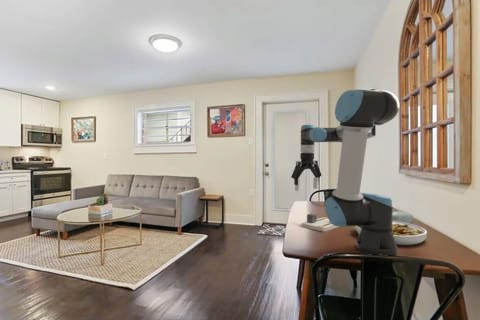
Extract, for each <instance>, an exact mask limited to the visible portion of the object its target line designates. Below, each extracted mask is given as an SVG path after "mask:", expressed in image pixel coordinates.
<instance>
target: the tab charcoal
mask: <svg viewBox="0 0 480 320" xmlns="http://www.w3.org/2000/svg"><path fill="white" fill-rule="evenodd" d="M317 216H318V215H317V214H315V213H309V214H306V222H312V223H313V222H317V219H318V218H317Z"/></svg>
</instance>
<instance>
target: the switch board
mask: <svg viewBox="0 0 480 320" xmlns="http://www.w3.org/2000/svg"><path fill="white" fill-rule="evenodd" d="M301 227H302V228H306V229H310V230H313V231H318V232H322V233H325V232H329V231H331V230H334V229H337V228H340V227H341V226H334V225H333V224H332V223H331V222H330V221H329V219H328V217H326V216H324V217H320V218H319V217H318V218H317V222H313V223H312V222H307V221H304V222H301Z"/></svg>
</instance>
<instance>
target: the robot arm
mask: <svg viewBox="0 0 480 320" xmlns="http://www.w3.org/2000/svg"><path fill="white" fill-rule="evenodd" d="M399 111H400V102H399V99H398V97H397V96H396V95H395V94H394V93H392V92H390V91H388V90H383V89H382V90H373V89H348V90H346V91H344V92H342V94H340V96H339V98H338V99H337V101H336V104H335V108H334V115H335V118H336V119H335V120H336V121H338V122H339V125H338V126H337V127H321V126H320V127H318V126H316V127H315V125H314V124H303V125H301V127H300V152H301V153H300V156H299V157H300V161H298V160H297V161H295V162H296V163H295V166H294V170H292V171H293V172H292V174H291V179H294V183H293V184H294V191H296V192H300V179H299V178H300V177H301V176H302V174H303V172H304V171H305V170H310V172H311V173H312V174H313V176H314V177H313V181H312V183H313V186H312V187H313V189H316V190H318V187H319V186H318V185H319V178H321V177H322V176H323V175H322V172H321V170H320V166H319V164H318V160H314V159H315V143H341V150H340V158H339V168H338V174H337V175H338V176H337V183H336V188H335V189H334V190H333V191H332V193H331V197H328V198H327V199H326V200H325V202H324V203H325V204H324V209H325V215H326V216H327V217H326V218H328V219H329V221H330V222H331V223H332V224H333V225H334V226H340V227H343V228H345V227H355V226H361V231H360V234H359V233H358V237H357V240H356V249H358V251H360V252H363V253H366V254H369V255H373V254H382V255H392V256H396V255H397V254H398V253H399V251H398V250H399V248H398V245H397V244H396V241H395V239H394V236H393V233H392V212H393V208H394V207H393V200H392V199H391V197H390V196H387V195H383V194H377V193H368V192H362V193H361V187H362V178H363V170H364V163H365V157H366V149H367V143H368V134H369V132H370V131H371V130H372V129H374V126H381V125H385V124H386V123H388V122H390V121H392V120H393V119H394V118H396V116H397V115H398V113H399Z"/></svg>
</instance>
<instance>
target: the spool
mask: <svg viewBox="0 0 480 320" xmlns="http://www.w3.org/2000/svg"><path fill="white" fill-rule="evenodd" d="M392 221H398V222H404V223H408V224H413V222H414V217H413V214H412V213H411V212H409V211H408V212H407V211H403V210H401V211H399V210H398V211H397V210H396V211H392Z"/></svg>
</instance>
